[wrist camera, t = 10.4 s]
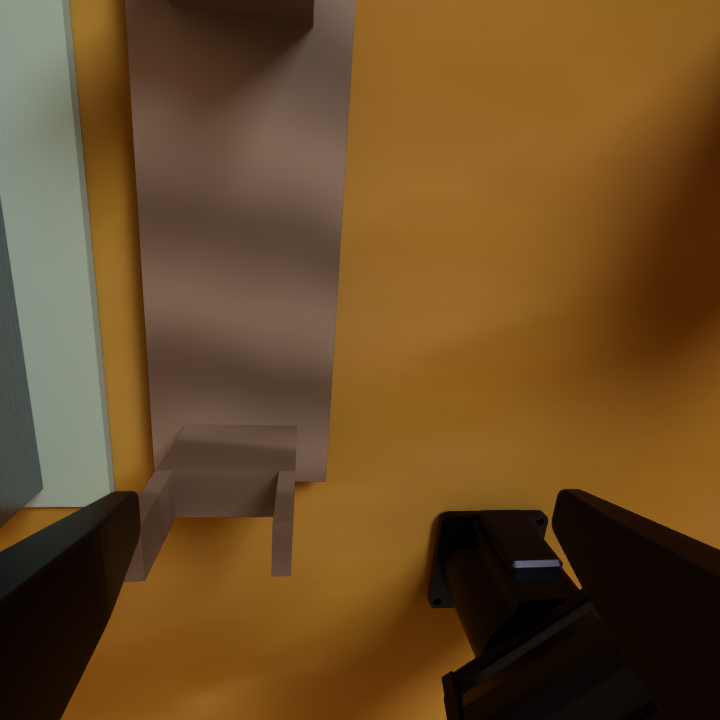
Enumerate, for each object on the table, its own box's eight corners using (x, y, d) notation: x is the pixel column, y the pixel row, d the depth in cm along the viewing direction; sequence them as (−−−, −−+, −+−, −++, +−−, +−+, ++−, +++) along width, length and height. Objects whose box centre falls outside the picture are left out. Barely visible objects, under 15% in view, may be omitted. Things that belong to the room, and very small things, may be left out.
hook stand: (324, 465, 22) (335, 598, 14) (165, 465, 21) (73, 610, 12) (354, -38, 16) (406, -333, 8) (135, -78, 15) (-74, -472, 7)
